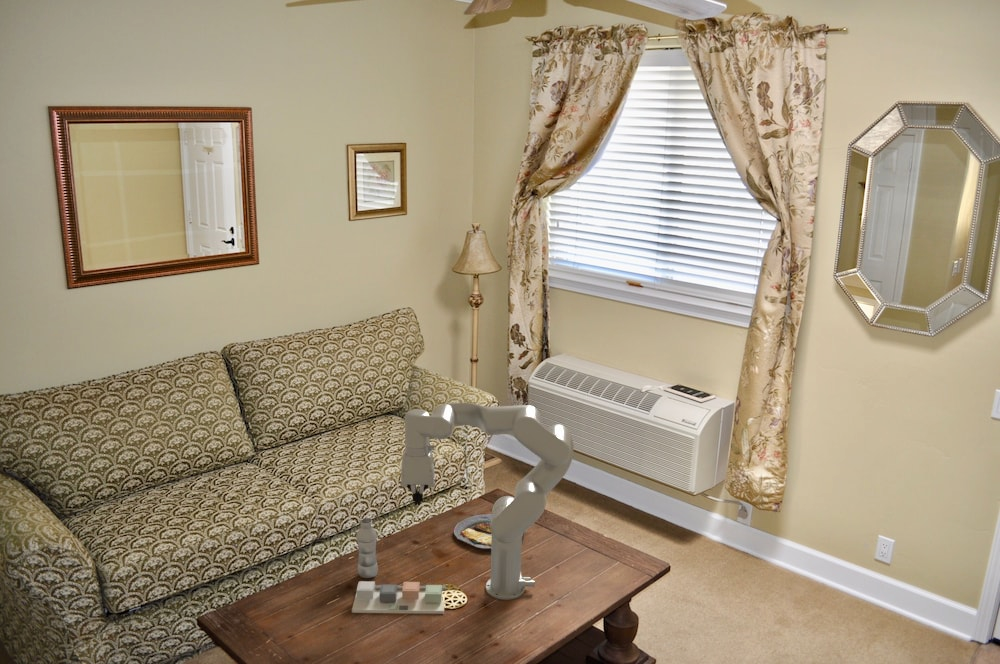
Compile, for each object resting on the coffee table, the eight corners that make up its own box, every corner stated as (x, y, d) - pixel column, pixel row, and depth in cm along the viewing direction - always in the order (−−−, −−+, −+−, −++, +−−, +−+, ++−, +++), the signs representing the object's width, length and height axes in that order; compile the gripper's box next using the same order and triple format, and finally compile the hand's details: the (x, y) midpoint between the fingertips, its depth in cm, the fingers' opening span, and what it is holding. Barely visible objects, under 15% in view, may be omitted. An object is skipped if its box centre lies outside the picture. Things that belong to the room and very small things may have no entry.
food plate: (536, 533, 303) (536, 524, 302) (496, 560, 285) (496, 551, 284) (483, 513, 318) (483, 505, 317) (442, 538, 300) (441, 529, 299)
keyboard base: (445, 591, 267) (445, 585, 266) (443, 613, 255) (443, 608, 255) (357, 590, 266) (357, 584, 266) (351, 612, 255) (351, 607, 254)
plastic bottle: (374, 582, 271) (373, 526, 265) (354, 579, 272) (352, 524, 267) (381, 571, 277) (379, 517, 272) (361, 568, 278) (360, 514, 273)
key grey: (375, 589, 263) (374, 581, 262) (373, 599, 258) (372, 590, 257) (359, 589, 262) (358, 581, 262) (356, 598, 258) (356, 590, 257)
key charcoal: (397, 592, 263) (397, 584, 262) (395, 602, 258) (395, 593, 257) (381, 592, 263) (381, 584, 262) (379, 602, 258) (379, 593, 257)
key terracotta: (419, 590, 263) (419, 581, 262) (418, 599, 258) (418, 590, 257) (403, 590, 263) (403, 581, 262) (402, 599, 258) (402, 590, 257)
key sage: (442, 593, 263) (442, 584, 262) (441, 602, 258) (441, 593, 258) (426, 593, 263) (426, 584, 262) (425, 602, 258) (425, 593, 257)
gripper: (442, 444, 261) (442, 498, 266) (394, 444, 261) (395, 497, 266) (441, 454, 254) (441, 509, 259) (391, 454, 253) (392, 508, 258)
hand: (417, 503), depth 262 cm, fingers closed
